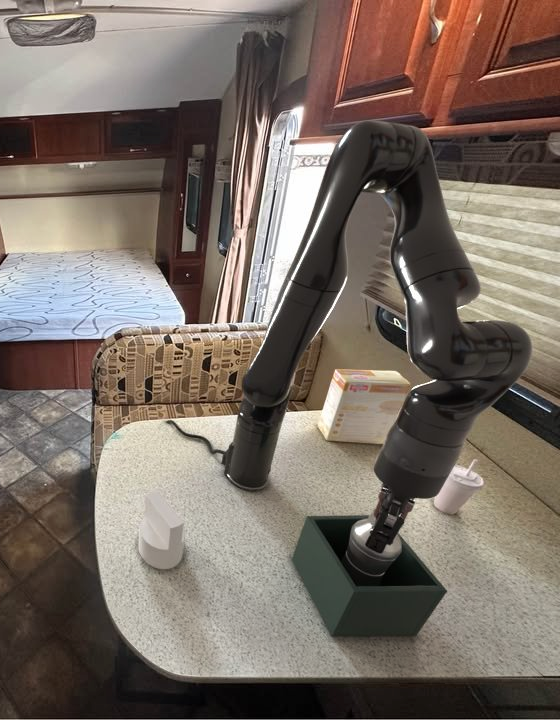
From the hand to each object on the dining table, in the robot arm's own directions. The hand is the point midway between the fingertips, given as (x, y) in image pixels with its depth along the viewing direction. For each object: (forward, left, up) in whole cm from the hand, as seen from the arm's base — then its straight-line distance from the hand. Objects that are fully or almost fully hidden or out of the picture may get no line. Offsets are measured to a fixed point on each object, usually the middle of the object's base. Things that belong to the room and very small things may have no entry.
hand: (377, 534), depth 60 cm
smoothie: (+11, +36, -16) cm, 41 cm away
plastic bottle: (0, 0, -16) cm, 16 cm away
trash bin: (0, 0, -16) cm, 16 cm away
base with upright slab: (-30, -15, -16) cm, 37 cm away
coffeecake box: (-10, +51, -16) cm, 54 cm away
